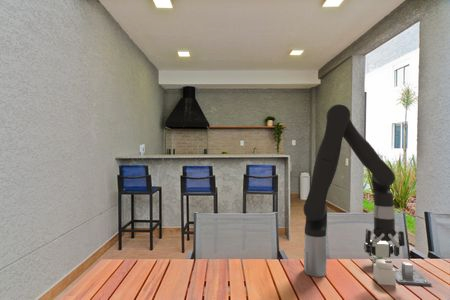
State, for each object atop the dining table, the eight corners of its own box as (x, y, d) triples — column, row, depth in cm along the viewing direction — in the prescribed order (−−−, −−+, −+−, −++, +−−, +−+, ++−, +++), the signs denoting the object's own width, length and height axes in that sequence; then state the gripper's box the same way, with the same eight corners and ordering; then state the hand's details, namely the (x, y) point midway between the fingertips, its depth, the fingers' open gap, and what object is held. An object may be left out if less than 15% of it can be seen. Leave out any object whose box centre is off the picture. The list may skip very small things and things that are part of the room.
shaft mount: (398, 283, 113) (398, 269, 113) (385, 270, 126) (385, 257, 126) (431, 286, 111) (431, 271, 111) (414, 272, 124) (414, 258, 124)
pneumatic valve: (393, 267, 129) (393, 242, 129) (366, 265, 131) (366, 240, 131) (389, 263, 134) (389, 238, 134) (363, 261, 137) (363, 236, 137)
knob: (379, 284, 113) (379, 263, 113) (373, 277, 119) (373, 257, 119) (395, 285, 112) (395, 264, 112) (389, 278, 118) (389, 258, 118)
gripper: (368, 217, 113) (369, 257, 113) (407, 218, 111) (408, 259, 110) (362, 213, 120) (363, 251, 120) (398, 214, 118) (399, 252, 118)
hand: (384, 255), depth 115 cm, fingers open, 8 cm apart
